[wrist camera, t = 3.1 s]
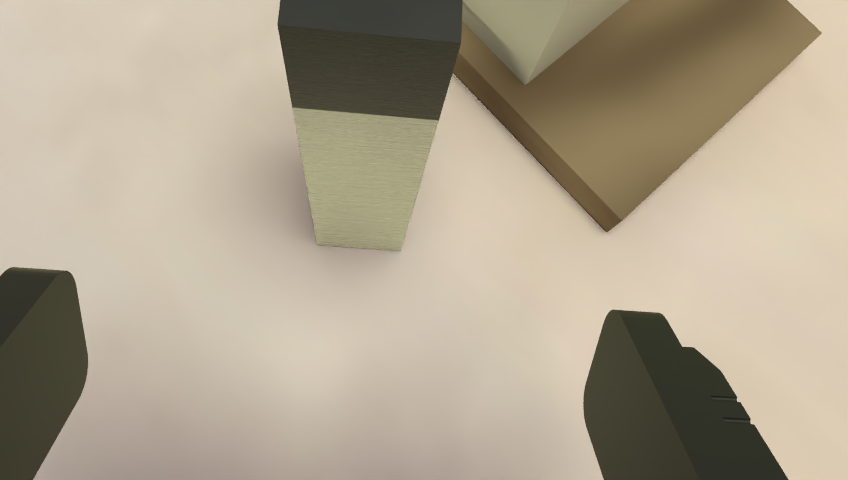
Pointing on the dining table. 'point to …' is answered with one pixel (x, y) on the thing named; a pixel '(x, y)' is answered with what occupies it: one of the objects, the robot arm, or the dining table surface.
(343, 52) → the grey tall bar
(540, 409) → the dining table surface
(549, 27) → the pale open square box
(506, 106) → the serving board
